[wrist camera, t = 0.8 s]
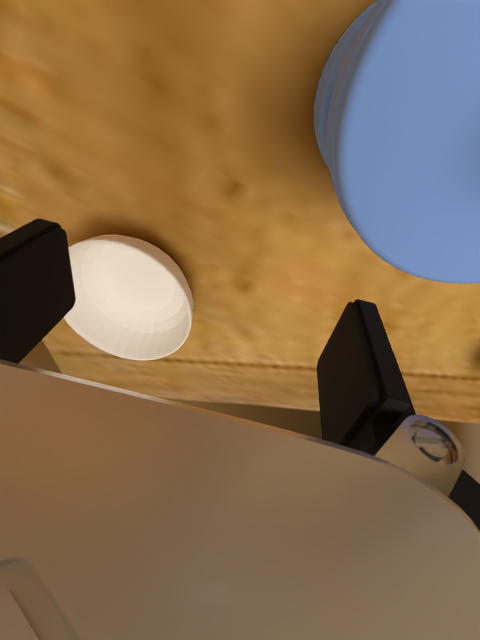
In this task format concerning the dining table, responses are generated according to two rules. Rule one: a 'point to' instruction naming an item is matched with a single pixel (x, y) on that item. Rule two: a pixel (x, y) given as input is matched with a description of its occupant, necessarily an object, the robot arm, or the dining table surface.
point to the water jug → (408, 134)
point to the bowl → (129, 297)
